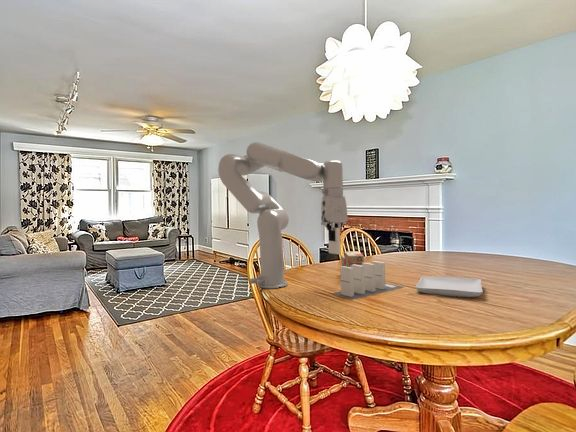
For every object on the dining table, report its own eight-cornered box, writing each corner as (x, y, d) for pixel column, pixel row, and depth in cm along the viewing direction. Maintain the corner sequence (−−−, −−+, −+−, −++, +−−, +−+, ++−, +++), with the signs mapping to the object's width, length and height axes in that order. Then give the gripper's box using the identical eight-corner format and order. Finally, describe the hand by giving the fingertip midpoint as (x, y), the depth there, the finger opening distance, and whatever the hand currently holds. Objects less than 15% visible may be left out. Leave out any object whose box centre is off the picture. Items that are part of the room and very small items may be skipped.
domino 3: (361, 294, 124) (361, 266, 124) (351, 291, 128) (351, 264, 128) (365, 293, 125) (364, 266, 125) (355, 290, 129) (354, 264, 129)
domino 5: (382, 289, 130) (382, 263, 130) (372, 287, 134) (372, 261, 134) (385, 288, 131) (385, 262, 131) (375, 286, 135) (374, 260, 135)
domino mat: (352, 300, 117) (352, 299, 117) (330, 294, 127) (330, 293, 127) (405, 288, 133) (405, 286, 133) (382, 283, 142) (382, 282, 142)
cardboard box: (341, 275, 161) (341, 248, 161) (355, 274, 161) (354, 248, 161) (349, 285, 140) (348, 255, 140) (364, 285, 140) (364, 255, 140)
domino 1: (337, 254, 132) (336, 228, 132) (328, 252, 136) (328, 227, 136) (340, 253, 133) (339, 227, 133) (331, 252, 137) (331, 227, 137)
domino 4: (372, 291, 127) (371, 264, 127) (362, 289, 131) (361, 263, 131) (375, 291, 128) (375, 264, 128) (365, 288, 132) (365, 262, 132)
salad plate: (414, 295, 123) (414, 286, 123) (422, 283, 142) (422, 274, 142) (483, 302, 113) (483, 291, 113) (481, 287, 132) (481, 278, 132)
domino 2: (350, 296, 121) (349, 268, 121) (340, 294, 125) (340, 266, 125) (353, 296, 122) (353, 267, 122) (344, 293, 126) (343, 266, 126)
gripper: (323, 192, 126) (324, 242, 127) (354, 192, 135) (355, 239, 136) (311, 193, 133) (312, 241, 133) (341, 193, 141) (342, 238, 142)
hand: (334, 240), depth 134 cm, fingers closed on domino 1, 1 cm apart
